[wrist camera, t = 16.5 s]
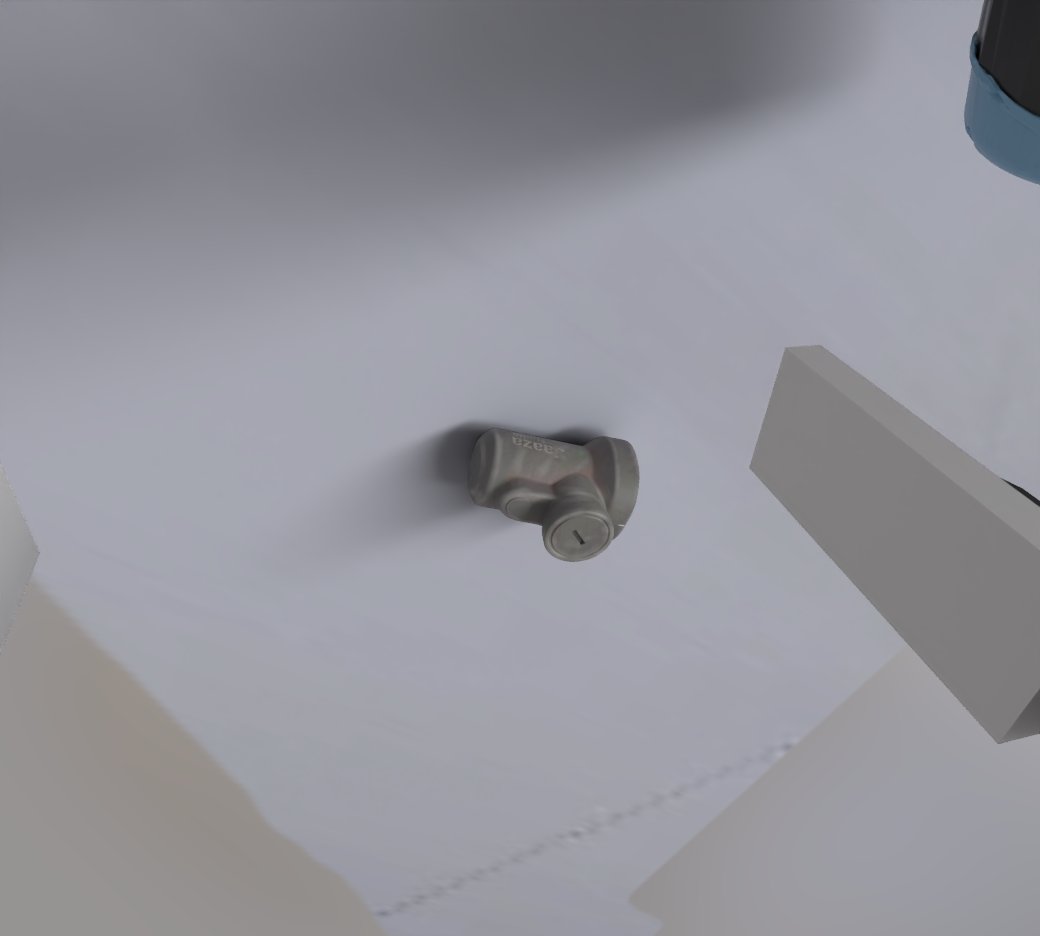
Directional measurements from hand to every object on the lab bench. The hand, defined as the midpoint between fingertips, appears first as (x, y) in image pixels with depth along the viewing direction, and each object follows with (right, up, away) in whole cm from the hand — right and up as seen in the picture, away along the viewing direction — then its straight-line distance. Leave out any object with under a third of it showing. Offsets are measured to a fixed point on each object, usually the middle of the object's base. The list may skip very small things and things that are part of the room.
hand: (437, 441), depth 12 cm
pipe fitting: (+3, +1, +45) cm, 45 cm away
